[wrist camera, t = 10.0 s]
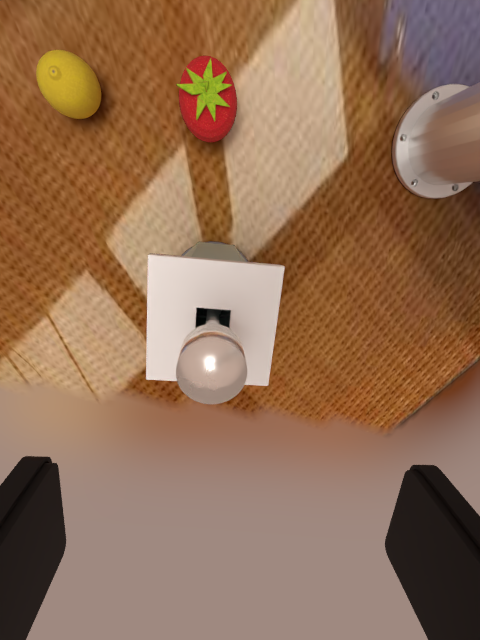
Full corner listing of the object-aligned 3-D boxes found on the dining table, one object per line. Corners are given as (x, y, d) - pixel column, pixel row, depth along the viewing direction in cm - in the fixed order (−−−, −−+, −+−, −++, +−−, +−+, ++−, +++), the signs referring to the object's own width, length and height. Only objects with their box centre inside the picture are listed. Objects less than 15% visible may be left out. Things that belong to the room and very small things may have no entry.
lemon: (103, 134, 39) (76, 116, 32) (54, 113, 38) (15, 90, 31) (116, 83, 38) (91, 52, 30) (65, 60, 37) (27, 22, 29)
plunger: (246, 258, 43) (284, 316, 20) (240, 318, 45) (267, 430, 22) (183, 253, 42) (146, 306, 19) (180, 313, 45) (144, 425, 22)
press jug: (247, 340, 49) (265, 408, 32) (169, 335, 48) (145, 402, 31) (258, 245, 45) (284, 266, 28) (173, 237, 43) (148, 254, 27)
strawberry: (187, 152, 40) (179, 134, 31) (179, 78, 38) (167, 35, 29) (236, 148, 41) (243, 130, 31) (231, 75, 38) (236, 31, 29)
